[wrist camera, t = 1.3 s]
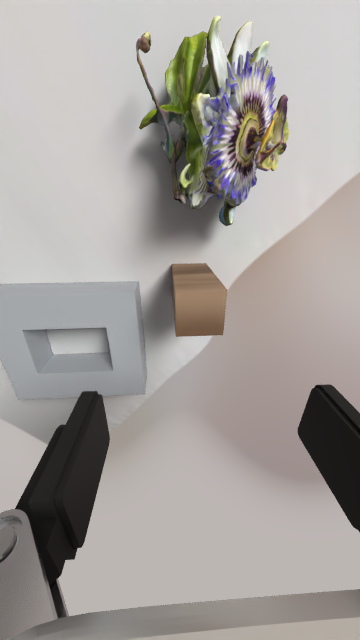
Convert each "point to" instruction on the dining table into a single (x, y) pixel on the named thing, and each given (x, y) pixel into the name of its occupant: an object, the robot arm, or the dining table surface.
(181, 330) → the wood grain block
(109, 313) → the well block
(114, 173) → the dining table surface
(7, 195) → the dining table surface
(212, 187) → the passion flower
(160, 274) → the dining table surface
